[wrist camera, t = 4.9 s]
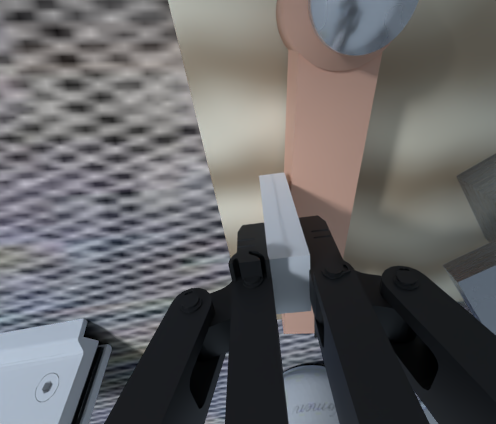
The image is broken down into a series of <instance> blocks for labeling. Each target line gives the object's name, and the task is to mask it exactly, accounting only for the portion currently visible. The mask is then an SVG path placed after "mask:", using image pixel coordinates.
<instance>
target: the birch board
mask: <svg viewBox="0 0 496 424" xmlns="http://www.w3.org/2000/svg"><path fill="white" fill-rule="evenodd" d="M168 2H169V6H170V10H171V14H172V19H173V23H174V27H175V31H176V35H177V39H178V43H179V47H180V51H181V56H182V60H183V64H184V68H185V72H186V76H187V80H188V84H189V89H190V93H191V97H192V101H193V105H194V109H195V113H196V117H197V122H198V126H199V130H200V134H201V138H202V142H203V146H204V150H205V154H206V159H207V163H208V167H209V171H210V175H211V179H212V183H213V187H214V192H215V196H216V200H217V204H218V208H219V212H220V216H221V220H222V225H223V229H224V233H225V237H226V241H227V245H228V249H229V253H230V257H232V256H233V255H234V254H235V253H237V232H238V231H239V229H240V228H241V226H242V225H247V224H255V223H264V216H263V207H262V198H261V189H260V180H259V176H260V175H268V174H276V173H284V157H285V128H286V100H287V71H288V49H287V48H286V46H285V45H284V43H283V41H282V39H281V37H280V34H279V31H278V27H277V21H276V3H277V0H168ZM494 154H496V0H419V1H418V4H417V6H416V9H415V11H414V13H413V15H412V17H411V18H410V20H409V21H408V23H407V25H406V26H405V27H404V29H403V30H402V31H401V32H400V33H399V34H398V35H397V36H396V38H394V39H393V41H392V42H391V43H390V44H389V45H388V46H387V48H386V49H385V50H384V51H383V52H382V57H381V63H380V68H379V73H378V78H377V84H376V89H375V94H374V99H373V105H372V110H371V115H370V120H369V125H368V131H367V136H366V141H365V146H364V152H363V157H362V162H361V167H360V173H359V178H358V183H357V188H356V194H355V199H354V204H353V209H352V214H351V220H350V225H349V230H348V235H347V241H346V246H345V251H344V256H343V260H344V261H346V262H348V263H349V264H350V265H351V266H352V267H353V268H354V270H356V271H359V272H361V273H366V274H373V275H381V276H382V274H383V272H384V271H385V270H386V269H388V268H389V267H392V266H407V267H410V268H413V269H416V270H418V271H420V272H421V273H423V274H424V275H426V276H427V277H428V278H429V279H430V280H432V281H433V282H434V283H435V284H436V285H437V286H439V287H440V288H441V289H442V290H443V291H444V292H446V293H447V294H448V295H449V296H450V297H451V298H453V299H454V300H455V301H456V302H460V301H464V299H463V298H462V296H461V295H460V293H459V291H458V290H457V288H456V286H455V285H454V283H453V281H452V280H451V278H450V277H449V275H448V273H447V272H446V270H445V268H444V267H443V264H446V263H448V262H450V261H452V260H454V259H456V258H458V257H460V256H462V255H465V254H467V253H469V252H471V251H473V250H475V249H477V248H479V247H481V246H483V245H486V244H488V243H490V242H489V241H488V240H486V239H485V237H484V234H483V232H482V230H481V228H480V226H479V224H478V222H477V220H476V217H475V215H474V213H473V211H472V209H471V207H470V205H469V202H468V200H467V198H466V196H465V194H464V192H463V190H462V187H461V185H460V183H459V181H458V179H457V177H456V176H457V175H459V174H461V173H462V172H464V171H466V170H468V169H469V168H471V167H473V166H475V165H476V164H478V163H480V162H482V161H483V160H485V159H487V158H489V157H490V156H492V155H494ZM276 316H277V320H278V319H282V314H276Z"/></svg>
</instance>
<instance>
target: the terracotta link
mask: <svg viewBox="0 0 496 424" xmlns="http://www.w3.org/2000/svg"><path fill="white" fill-rule="evenodd" d="M276 21H277V27H278V31H279V34H280V37H281V39H282V41H283V43H284V45H285V46H286V48H287V49H288V71H287V100H286V128H285V157H284V173H285V176H286V179H287V182H288V186H289V189H290V192H291V195H292V199H293V202H294V205H295V208H296V211H297V215H298V218H300V217H308V216H316V215H318V216H319V217H321V218H322V219H323V220H325V221H326V223H327V225H328V228H329V230H330V232H331V234H332V237H333V239H334V241H335V243H336V245H337V247H338V250H339V252H340V254H341V256H342V258H343V256H344V251H345V246H346V241H347V235H348V230H349V225H350V220H351V214H352V209H353V204H354V199H355V194H356V188H357V183H358V178H359V173H360V167H361V162H362V157H363V152H364V146H365V141H366V136H367V131H368V125H369V120H370V115H371V110H372V105H373V99H374V94H375V89H376V84H377V78H378V73H379V68H380V63H381V57H382V52H383V51H384V50H385V49H386V48H387V46H388V45H389V44H390V43H391V42H392V41H393V40H392V41H391V42H390V43H388V44H387V45H386V46H384V47H383V48H381V49H379V50H377V51H375V52H372V53H369V54H365V55H358V56H353V55H345V54H340V53H337V52H334V51H332V50H330V49H329V48H327V47H326V46H325V45H324V44H323V43H322V42H321V41H320V40H319V39H318V37H317V36H316V34H315V32H314V30H313V28H312V25H311V22H310V17H309V10H308V0H277V3H276ZM282 322H283V330H284V334H301V333H314V313H313V309H312V305H311V311H305V312H295V313H284V314H282Z"/></svg>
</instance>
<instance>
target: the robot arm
mask: <svg viewBox="0 0 496 424" xmlns="http://www.w3.org/2000/svg"><path fill="white" fill-rule="evenodd" d="M259 180H260V189H261V198H262V207H263V216H264V223H255V224H247V225H242V226H241V228H240V229H239V231H238V232H237V253H235V254H234V255H233V256H232V257H231V258H230V261H229V269H230V273H231V277H232V282H231V283H230V284H229V285H228V286H226V287H225V288H223V289H221V290H218V291H216V292H213V293H208V292H207V291H206V290H204V289H201V288H191V289H189V290H186V291H184V292H182V293H181V294H179V295H178V296H177V297H176V298H175V299H174V301H173V302H172V304H171V305H170V307H169V309H168V311H167V313H166V314H165V316H164V318H163V320H162V322H161V323H160V325H159V327H158V329H157V330H156V332H155V334H154V336H153V338H152V339H151V341H150V343H149V345H148V347H147V348H146V350H145V352H144V354H143V355H142V357H141V359H140V361H139V363H138V364H137V366H136V368H135V370H134V371H133V373H132V375H131V377H130V379H129V380H128V382H127V384H126V386H125V388H124V389H123V391H122V393H121V395H120V396H119V398H118V400H117V402H116V404H115V405H114V407H113V409H112V411H111V413H110V414H109V416H108V418H107V420H106V421H105V423H104V424H204V423H205V420H206V416H207V413H208V410H209V407H210V403H211V400H212V397H213V394H214V390H215V387H216V384H217V381H218V377H219V374H220V371H221V368H222V364H223V361H224V358H225V354H226V352H228V351H229V359H228V378H227V397H226V415H225V424H289V421H288V412H287V403H286V395H285V386H284V377H283V368H282V359H281V350H280V341H279V332H278V324H277V316H276V314H284V313H295V312H305V311H311V305H312V309H313V313H314V334H315V337H318V340H319V344H320V348H321V352H322V356H323V360H324V364H325V368H326V372H327V376H328V380H329V384H330V388H331V392H332V396H333V400H334V404H335V408H336V412H337V416H338V420H339V424H429V422H428V420H427V418H426V415H425V414H424V411H423V409H422V407H421V405H420V403H419V401H418V399H417V397H416V395H415V393H416V394H417V395H418V397H419V398H420V399H421V401H422V402H423V403H424V405H425V406H426V407H427V409H428V410H429V411H430V413H431V414H432V416H433V417H434V418H435V420H436V421H437V422H438V424H496V335H495V334H494V333H493V332H491V331H490V330H489V329H488V328H487V327H486V326H484V325H483V324H482V323H481V322H480V321H478V320H477V319H476V318H475V317H474V316H473V315H471V314H470V313H469V312H468V311H467V310H466V309H464V308H463V307H462V306H461V305H460V304H459V303H457V302H456V301H455V300H454V299H453V298H451V297H450V296H449V295H448V294H447V293H446V292H444V291H443V290H442V289H441V288H440V287H439V286H437V285H436V284H435V283H434V282H433V281H432V280H430V279H429V278H428V277H427V276H426V275H424V274H423V273H421V272H420V271H418V270H416V269H413V268H410V267H407V266H392V267H389V268H388V269H386V270H385V271H384V272H383V274H382V276H381V275H373V274H366V273H361V272H359V271H356V270H354V268H353V267H352V266H351V265H350V264H349V263H348V262H346V261H344V260H343V258H342V256H341V254H340V252H339V250H338V247H337V245H336V243H335V241H334V239H333V237H332V234H331V232H330V230H329V228H328V225H327V223H326V221H325V220H323V219H322V218H321V217H319V216H318V215H316V216H308V217H300V218H298V215H297V211H296V208H295V205H294V202H293V199H292V195H291V192H290V189H289V186H288V182H287V179H286V176H285V173H276V174H268V175H260V176H259ZM412 388H413V389H412ZM413 390H414V391H415V393H414V391H413Z"/></svg>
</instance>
